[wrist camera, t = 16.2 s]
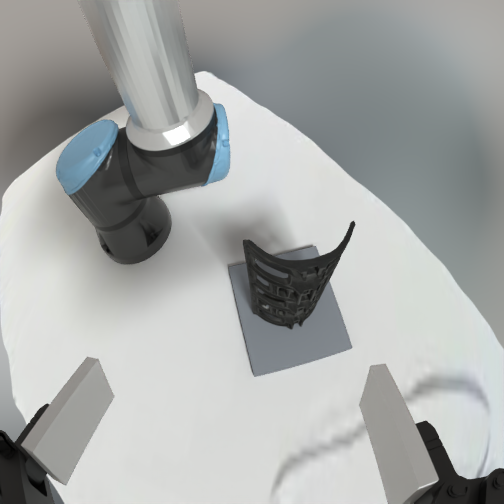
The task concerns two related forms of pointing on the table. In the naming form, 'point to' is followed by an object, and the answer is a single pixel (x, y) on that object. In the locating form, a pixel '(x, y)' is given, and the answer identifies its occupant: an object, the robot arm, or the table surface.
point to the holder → (289, 283)
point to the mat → (282, 338)
